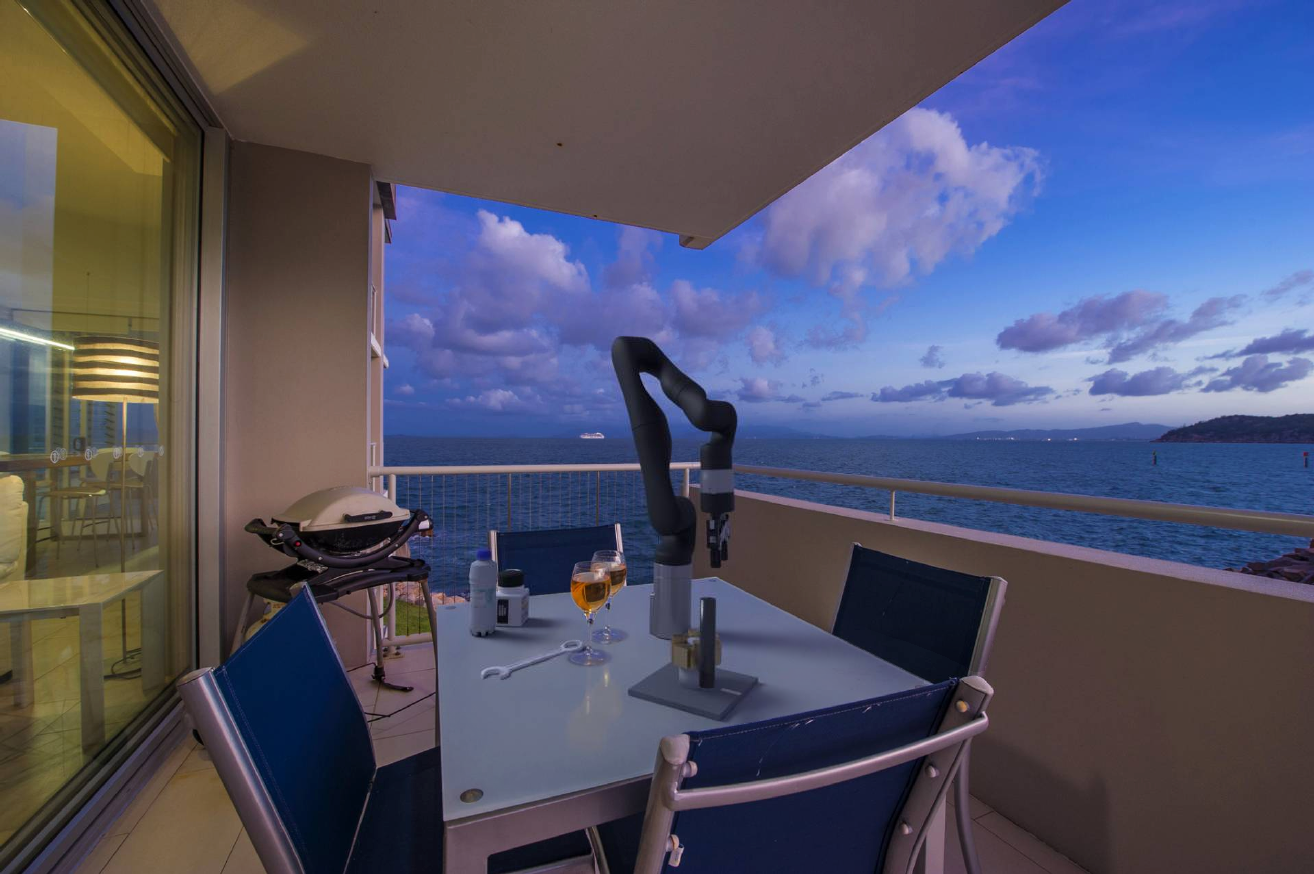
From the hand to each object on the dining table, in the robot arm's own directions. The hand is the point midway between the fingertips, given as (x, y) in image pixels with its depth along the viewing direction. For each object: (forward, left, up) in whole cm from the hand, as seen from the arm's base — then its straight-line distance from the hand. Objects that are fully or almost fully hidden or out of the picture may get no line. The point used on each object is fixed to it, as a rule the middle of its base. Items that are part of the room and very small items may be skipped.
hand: (719, 564), depth 122 cm
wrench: (-31, -25, -20) cm, 44 cm away
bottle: (-53, -19, -20) cm, 60 cm away
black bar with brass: (+6, -23, -14) cm, 28 cm away
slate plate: (+4, -19, -20) cm, 27 cm away
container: (-54, -9, -20) cm, 58 cm away
